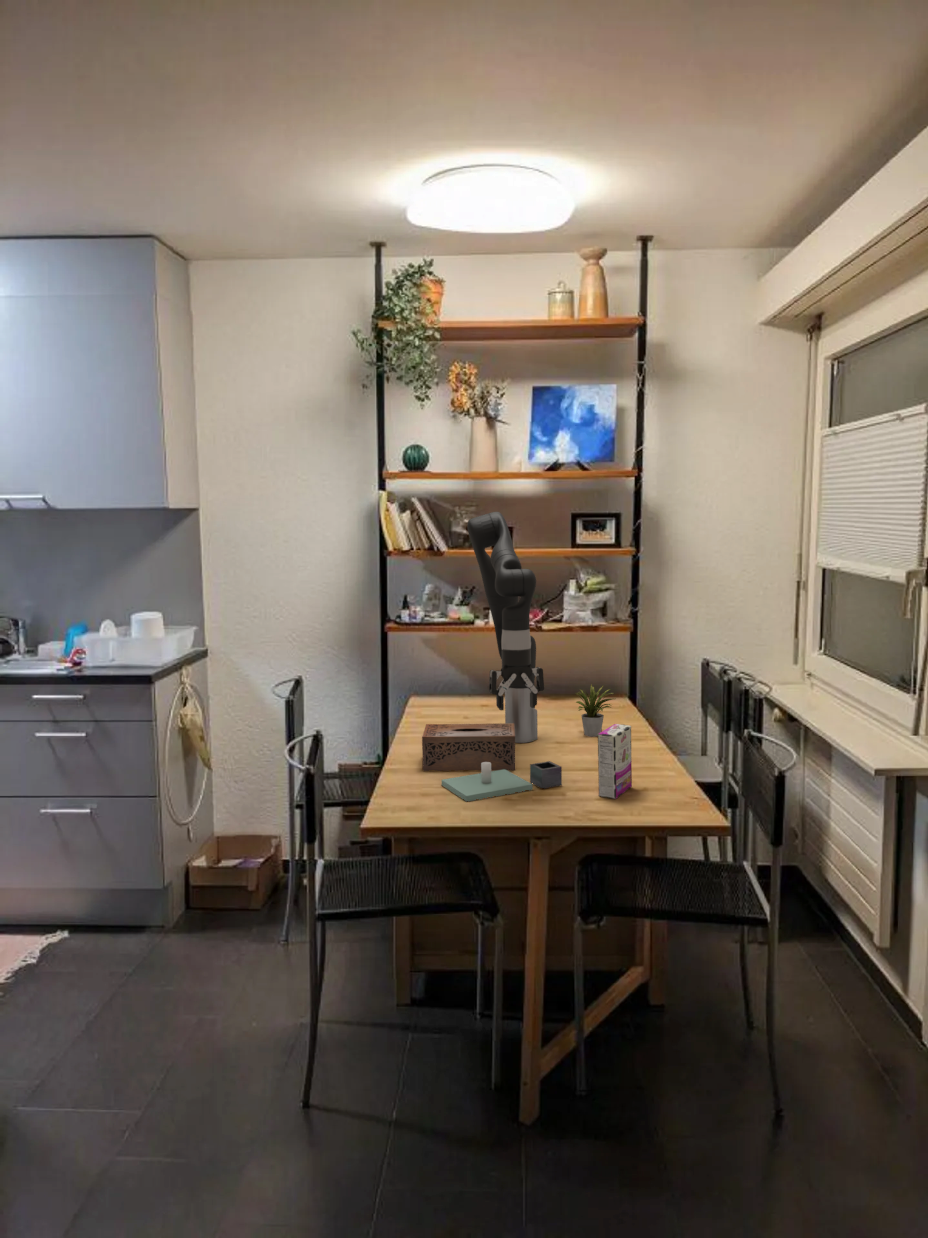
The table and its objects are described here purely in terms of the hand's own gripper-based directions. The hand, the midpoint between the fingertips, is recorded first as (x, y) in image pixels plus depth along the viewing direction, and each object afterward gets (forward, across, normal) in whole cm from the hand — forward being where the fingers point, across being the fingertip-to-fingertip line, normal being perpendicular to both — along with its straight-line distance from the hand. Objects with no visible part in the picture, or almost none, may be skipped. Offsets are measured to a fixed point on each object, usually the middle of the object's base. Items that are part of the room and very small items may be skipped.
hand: (516, 708), depth 227 cm
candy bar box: (+21, -22, +12) cm, 33 cm away
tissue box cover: (+21, +6, -24) cm, 33 cm away
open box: (+21, -8, +1) cm, 22 cm away
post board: (+21, +8, -1) cm, 22 cm away
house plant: (+20, -38, -41) cm, 59 cm away
